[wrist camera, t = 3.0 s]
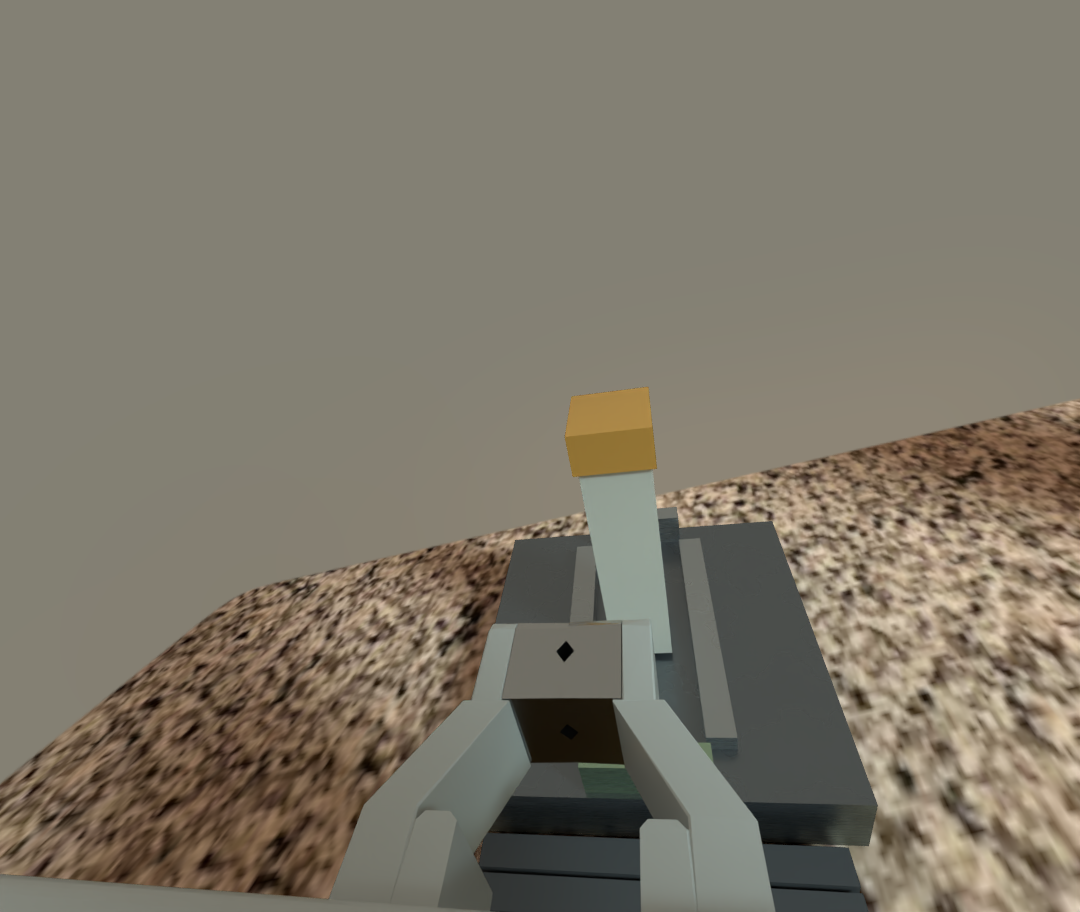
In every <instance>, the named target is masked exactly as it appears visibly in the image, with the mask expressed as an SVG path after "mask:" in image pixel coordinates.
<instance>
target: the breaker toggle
mask: <svg viewBox="0 0 1080 912" xmlns="http://www.w3.org/2000/svg"><path fill="white" fill-rule="evenodd" d="M565 441H566V446H567V450H568V456H569V461H570V465H571V470H572V476H573V477H577V476H579V480H580V485H581V490H582V496H583V501H584V506H585V511H586V516H587V521H588V526H589V531H590V537H591V542H592V547H593V552H594V557H595V562H596V567H597V573H598V578H599V583H600V588H601V593H602V598H603V603H604V608H605V614H606V619H607V620H622V621H623V620H639V619H650V620H651V625H652V634H653V643H654V652H655V653H672V646H671V635H670V625H669V615H668V605H667V596H666V587H665V578H664V569H663V560H662V551H661V542H660V533H659V524H658V515H657V506H656V497H655V488H654V479H653V470H652V469H657V465H656V455H655V445H654V436H653V426H652V418H651V407H650V398H649V389H648V387H643V388H636V389H635V388H634V389H627V390H619V391H612V392H603V393H595V394H588V395H579V396H572V397H571V402H570V408H569V414H568V420H567V426H566V432H565Z"/></svg>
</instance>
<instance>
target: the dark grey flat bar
mask: <svg viewBox="0 0 1080 912" xmlns="http://www.w3.org/2000/svg"><path fill="white" fill-rule="evenodd" d="M762 846H763V851H764V856H765V861H766V866H767V872H768V877H769V882H770V887H771V892H772V897H773V902H774V907H775V912H868V909H867V905H866V902H865V899H864V896H863V894H862V893H859V892H860V887H861V886H860V883H859V880H858V876H857V873H856V870H855V867H854V864H853V860H852V857H851V854H850V851H849V848H845V847H821V846H796V845H772V844H762ZM479 866H480V868H481V870H482V872H483V874H484V876H485V878H486V880H487V882H488V884H489V886H490V888H491V890H492V893H493V894H492V901H491V908H490V911H493V912H641V879H640V839H625V838H600V837H576V836H551V835H527V834H502V833H487V834H486V835H485V837H484V839H483V845H482V850H481V856H480V861H479Z"/></svg>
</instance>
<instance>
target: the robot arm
mask: <svg viewBox="0 0 1080 912" xmlns="http://www.w3.org/2000/svg"><path fill="white" fill-rule="evenodd" d="M530 763H597V764H618V765H625V768H626V770H627V772H628V774H629V775H630V777H631V779H632V781H633V783H634V784H635V786H636V788H637V790H638V792H639V793H640V795H641V797H642V799H643V801H644V802H645V804H646V806H647V808H648V810H649V811H650V813H651V815H652V817H653V819H647V820H646V822H645V823H644V824H643V825H642V826H641V827H640V879H641V912H775V907H774V902H773V897H772V892H771V887H770V882H769V877H768V872H767V866H766V861H765V856H764V851H763V846H762V841H761V836H760V831H759V826H758V821H757V820H756V818H755V817H754V816H753V814H752V813H751V812H750V810H749V809H748V808H747V807H746V805H745V804H744V803H743V801H742V800H741V799H740V797H739V796H738V795H737V794H736V792H735V791H734V790H733V788H732V787H731V786H730V784H729V783H728V782H727V780H726V779H725V778H724V777H723V775H722V774H721V773H720V771H719V770H718V769H717V767H716V766H715V765H714V764H713V762H712V761H711V760H710V758H709V757H708V756H707V754H706V753H705V752H704V751H703V749H702V748H701V747H700V745H699V744H698V743H697V741H696V740H695V739H694V737H693V736H692V735H691V734H690V732H689V731H688V730H687V728H686V727H685V726H684V724H683V723H682V722H681V721H680V719H679V718H678V717H677V715H676V714H675V713H674V711H673V710H672V709H671V708H670V706H669V705H668V704H667V702H666V701H665V700H659V690H658V680H657V671H656V661H655V652H654V643H653V634H652V625H651V620H650V619H639V620H623V621H622V620H606V621H584V622H570V623H517V624H493V625H492V627H491V628H490V630H489V632H488V636H487V640H486V644H485V648H484V652H483V656H482V659H481V663H480V667H479V671H478V675H477V679H476V683H475V687H474V691H473V695H472V699H471V700H463V701H462V702H461V704H460V705H459V706H458V707H457V708H456V709H455V710H454V711H453V712H452V713H451V714H450V715H449V716H448V717H447V718H446V719H445V720H444V721H443V722H442V723H441V724H440V726H439V727H438V728H437V729H436V730H435V731H434V732H433V733H432V734H431V735H430V736H429V737H428V738H427V739H426V740H425V741H424V742H423V743H422V744H421V745H420V746H419V748H418V749H417V750H416V751H415V752H414V753H413V754H412V755H411V756H410V757H409V758H408V759H407V760H406V761H405V762H404V763H403V764H402V765H401V766H400V767H399V769H398V770H397V771H396V772H395V773H394V774H393V775H392V776H391V777H390V778H389V779H388V780H387V781H386V782H385V783H384V784H383V785H382V786H381V787H380V788H379V789H378V791H377V792H376V793H375V794H374V795H373V796H372V797H371V798H370V799H369V800H368V801H367V802H366V803H365V804H364V806H363V809H362V811H361V814H360V817H359V819H358V822H357V825H356V827H355V830H354V833H353V835H352V838H351V841H350V843H349V846H348V849H347V851H346V854H345V857H344V859H343V862H342V865H341V867H340V870H339V873H338V875H337V878H336V881H335V883H334V886H333V889H332V891H331V894H330V897H329V899H322V898H309V897H296V896H283V895H269V894H256V893H243V892H230V891H217V890H204V889H191V888H177V887H164V886H151V885H138V884H125V883H112V882H98V881H85V880H72V879H59V878H46V877H33V876H20V875H6V874H0V912H493V911H490V908H491V901H492V894H493V893H492V890H491V888H490V886H489V884H488V882H487V880H486V878H485V876H484V874H483V872H482V870H481V868H480V866H479V864H478V862H477V860H476V858H475V856H474V852H475V851H476V849H477V848H478V846H479V845H480V843H481V842H482V840H483V839H484V837H485V835H486V834H487V832H488V831H489V829H490V828H491V826H492V825H493V823H494V822H495V820H496V819H497V817H498V816H499V814H500V813H501V811H502V810H503V808H504V807H505V805H506V804H507V802H508V800H509V799H510V797H511V796H512V794H513V793H514V791H515V790H516V788H517V787H518V785H519V784H520V782H521V781H522V779H523V778H524V776H525V775H526V773H527V772H528V770H529V769H530V767H531V764H530Z"/></svg>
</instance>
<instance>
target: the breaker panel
mask: <svg viewBox="0 0 1080 912" xmlns="http://www.w3.org/2000/svg"><path fill="white" fill-rule="evenodd" d="M657 515H658V524H659V533H660V542H661V551H662V560H663V569H664V578H665V587H666V596H667V605H668V615H669V625H670V635H671V646H672V653H655V661H656V671H657V680H658V690H659V700H665V701H666V702H667V704H668V705H669V706H670V708H671V709H672V710H673V711H674V713H675V714H676V715H677V717H678V718H679V719H680V721H681V722H682V723H683V724H684V726H685V727H686V728H687V730H688V731H689V732H690V734H691V735H692V736H693V737H694V739H695V740H696V741H697V743H698V744H699V745H700V747H701V748H702V749H703V751H704V752H705V753H706V754H707V756H708V757H709V758H710V760H711V761H712V762H713V764H714V765H715V766H716V767H717V769H718V770H719V771H720V773H721V774H722V775H723V777H724V778H725V779H726V780H727V782H728V783H729V784H730V786H731V787H732V788H733V790H734V791H735V792H736V794H737V795H738V796H739V797H740V799H741V800H742V801H743V803H744V804H745V805H746V807H747V808H748V809H749V810H750V812H751V813H752V814H753V816H754V817H755V818H756V820H757V821H758V826H759V831H760V836H761V841H762V842H779V843H804V844H829V845H854V846H869V842H870V838H871V833H872V829H873V824H874V820H875V816H876V811H877V807H878V805H877V802H876V799H875V797H874V794H873V791H872V789H871V786H870V783H869V781H868V778H867V775H866V773H865V770H864V767H863V764H862V762H861V759H860V756H859V754H858V751H857V748H856V746H855V743H854V740H853V738H852V735H851V732H850V729H849V727H848V724H847V721H846V719H845V716H844V713H843V711H842V708H841V705H840V703H839V700H838V697H837V694H836V692H835V689H834V686H833V684H832V681H831V678H830V676H829V673H828V670H827V668H826V665H825V662H824V660H823V657H822V654H821V651H820V649H819V646H818V643H817V641H816V638H815V635H814V633H813V630H812V627H811V625H810V622H809V619H808V616H807V614H806V611H805V608H804V606H803V603H802V600H801V598H800V595H799V592H798V590H797V587H796V584H795V581H794V579H793V576H792V573H791V571H790V568H789V565H788V563H787V560H786V557H785V555H784V552H783V549H782V546H781V544H780V541H779V538H778V536H777V533H776V530H775V528H774V525H773V522H772V521H768V522H754V523H741V524H727V525H714V526H700V527H687V528H679V524H678V514H677V507H672V508H660V509H657ZM606 620H607V619H606V614H605V608H604V603H603V598H602V593H601V588H600V583H599V578H598V573H597V567H596V562H595V557H594V552H593V547H592V542H591V537H590V535H579V536H565V537H552V538H538V539H525V540H515V544H514V548H513V552H512V556H511V560H510V564H509V569H508V573H507V577H506V581H505V585H504V589H503V593H502V598H501V602H500V606H499V610H498V614H497V618H496V623H495V624H517V623H570V622H584V621H606ZM530 764H531V767H530V769H529V770H528V772H527V773H526V775H525V776H524V778H523V779H522V781H521V782H520V784H519V785H518V787H517V788H516V790H515V791H514V793H513V794H512V796H511V797H510V799H509V800H508V802H507V804H506V805H505V807H504V808H503V810H502V811H501V813H500V814H499V816H498V817H497V819H496V820H495V822H494V823H493V825H492V826H491V828H490V829H489V831H504V832H529V833H554V834H579V835H604V836H629V837H640V827H641V826H642V825H643V824H644V823H645V822H646V820H647V819H653V817H652V815H651V813H650V811H649V810H648V808H647V806H646V804H645V802H644V801H643V799H642V797H641V795H640V793H639V792H638V790H637V788H636V786H635V784H634V783H633V781H632V779H631V777H630V775H629V774H628V772H627V770H626V768H625V765H618V764H597V763H530Z"/></svg>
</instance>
